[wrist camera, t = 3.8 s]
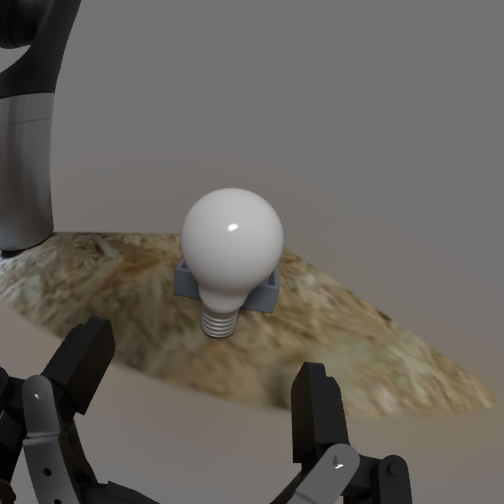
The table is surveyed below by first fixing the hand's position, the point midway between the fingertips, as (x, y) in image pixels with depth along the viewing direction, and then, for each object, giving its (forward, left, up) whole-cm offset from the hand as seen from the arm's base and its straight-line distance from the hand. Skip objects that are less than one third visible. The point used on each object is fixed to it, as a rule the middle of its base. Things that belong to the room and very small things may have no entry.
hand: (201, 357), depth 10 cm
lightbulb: (0, +8, -7) cm, 11 cm away
